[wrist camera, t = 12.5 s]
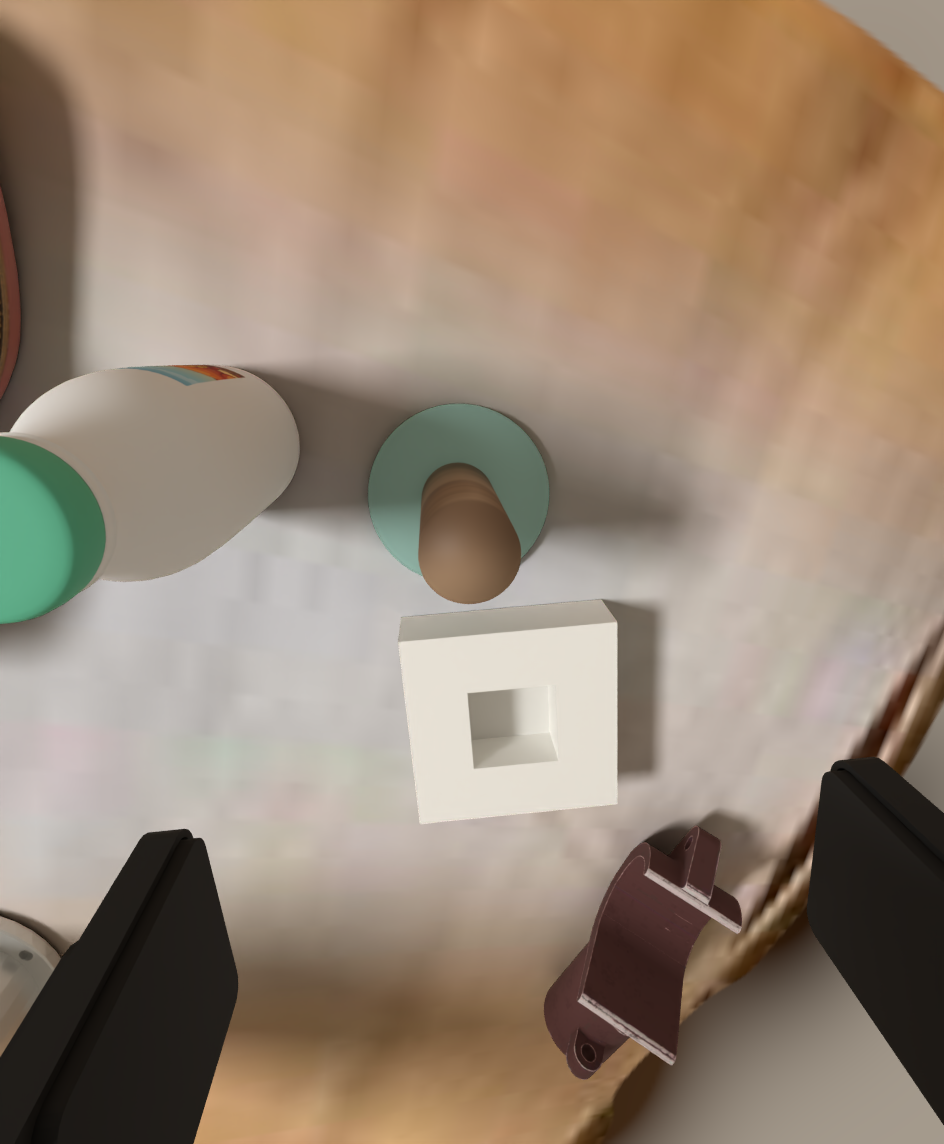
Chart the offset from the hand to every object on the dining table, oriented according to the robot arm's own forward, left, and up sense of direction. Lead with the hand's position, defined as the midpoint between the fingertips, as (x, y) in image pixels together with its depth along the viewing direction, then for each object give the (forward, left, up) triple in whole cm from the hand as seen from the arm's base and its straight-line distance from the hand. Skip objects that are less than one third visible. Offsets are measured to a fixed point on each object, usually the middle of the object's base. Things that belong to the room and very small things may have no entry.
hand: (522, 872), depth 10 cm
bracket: (-30, -9, -28) cm, 42 cm away
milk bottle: (+4, +12, -28) cm, 31 cm away
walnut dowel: (0, 0, -27) cm, 27 cm away
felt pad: (0, 0, -28) cm, 28 cm away
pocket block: (-13, -2, -28) cm, 30 cm away
